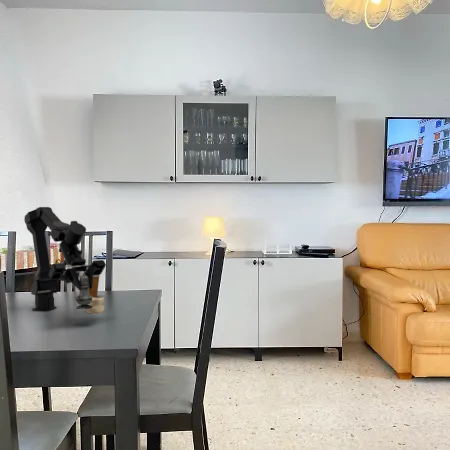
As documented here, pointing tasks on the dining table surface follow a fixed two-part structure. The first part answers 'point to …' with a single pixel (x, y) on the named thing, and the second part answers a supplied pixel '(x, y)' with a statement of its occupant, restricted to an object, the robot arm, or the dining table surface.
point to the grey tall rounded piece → (84, 294)
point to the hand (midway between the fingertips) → (86, 288)
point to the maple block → (96, 305)
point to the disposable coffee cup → (93, 285)
